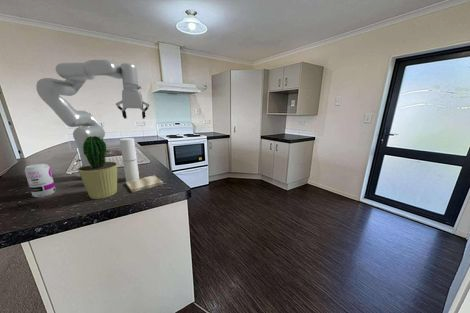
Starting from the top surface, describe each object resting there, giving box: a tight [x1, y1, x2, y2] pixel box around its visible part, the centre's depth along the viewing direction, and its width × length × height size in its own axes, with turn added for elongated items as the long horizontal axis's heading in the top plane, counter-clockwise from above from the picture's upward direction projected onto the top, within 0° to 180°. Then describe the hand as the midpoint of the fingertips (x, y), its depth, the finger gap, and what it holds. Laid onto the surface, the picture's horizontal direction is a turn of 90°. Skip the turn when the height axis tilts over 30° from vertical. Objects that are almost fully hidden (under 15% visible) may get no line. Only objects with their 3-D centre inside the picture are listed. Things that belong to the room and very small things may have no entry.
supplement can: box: [24, 163, 57, 198], centre depth 86 cm, size 8×8×15 cm
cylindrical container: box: [119, 137, 140, 182], centre depth 105 cm, size 7×7×25 cm
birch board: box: [125, 174, 164, 193], centre depth 101 cm, size 16×14×2 cm
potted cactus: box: [77, 136, 118, 200], centre depth 85 cm, size 15×15×30 cm
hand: (134, 118), depth 104 cm, fingers open, 9 cm apart
